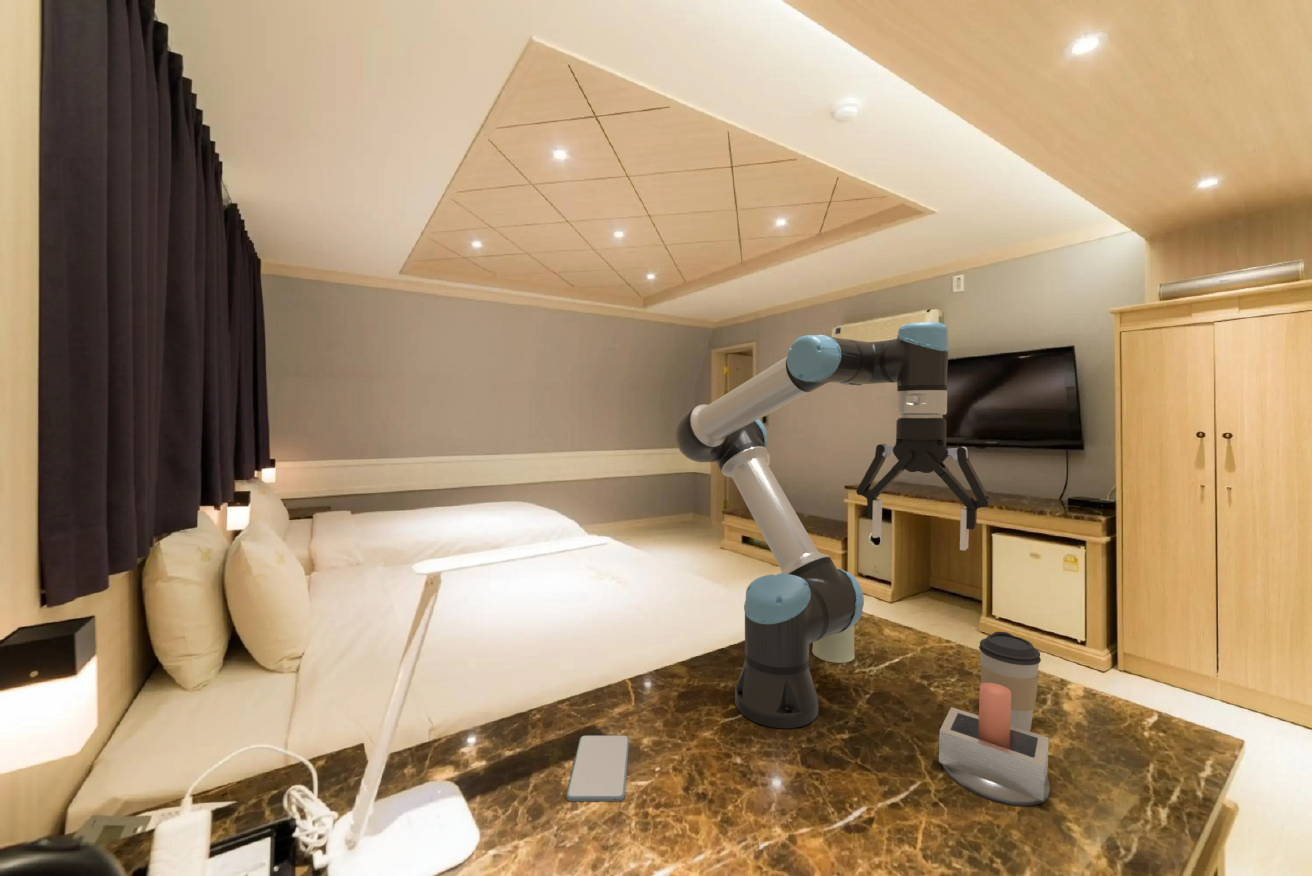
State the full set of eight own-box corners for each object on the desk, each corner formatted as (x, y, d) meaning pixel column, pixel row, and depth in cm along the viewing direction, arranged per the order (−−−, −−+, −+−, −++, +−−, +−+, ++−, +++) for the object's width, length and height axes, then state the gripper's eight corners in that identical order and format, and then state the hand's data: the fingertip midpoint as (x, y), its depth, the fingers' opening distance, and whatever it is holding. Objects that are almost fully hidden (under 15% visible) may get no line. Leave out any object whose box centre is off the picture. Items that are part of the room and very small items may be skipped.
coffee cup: (1049, 741, 89) (1052, 652, 88) (989, 734, 91) (991, 648, 90) (1023, 711, 98) (1026, 630, 97) (969, 706, 100) (971, 627, 99)
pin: (975, 767, 81) (977, 690, 80) (980, 754, 84) (982, 679, 83) (1007, 779, 78) (1009, 699, 78) (1010, 765, 81) (1012, 688, 81)
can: (813, 660, 118) (814, 607, 117) (810, 643, 127) (811, 593, 126) (857, 665, 116) (858, 610, 115) (851, 647, 125) (852, 596, 124)
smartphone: (629, 734, 90) (624, 797, 75) (629, 740, 90) (624, 803, 75) (580, 734, 90) (565, 797, 75) (580, 740, 90) (565, 804, 75)
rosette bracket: (930, 776, 80) (931, 737, 80) (950, 733, 91) (951, 699, 91) (1045, 821, 71) (1047, 778, 71) (1052, 768, 82) (1053, 730, 82)
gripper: (839, 416, 94) (837, 535, 95) (1006, 417, 79) (1002, 559, 80) (854, 416, 100) (852, 528, 101) (1012, 416, 84) (1009, 549, 85)
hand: (918, 542), depth 90 cm, fingers open, 13 cm apart
